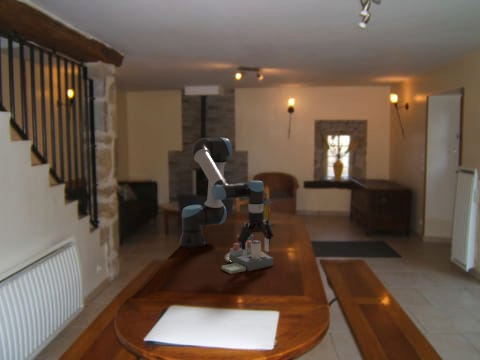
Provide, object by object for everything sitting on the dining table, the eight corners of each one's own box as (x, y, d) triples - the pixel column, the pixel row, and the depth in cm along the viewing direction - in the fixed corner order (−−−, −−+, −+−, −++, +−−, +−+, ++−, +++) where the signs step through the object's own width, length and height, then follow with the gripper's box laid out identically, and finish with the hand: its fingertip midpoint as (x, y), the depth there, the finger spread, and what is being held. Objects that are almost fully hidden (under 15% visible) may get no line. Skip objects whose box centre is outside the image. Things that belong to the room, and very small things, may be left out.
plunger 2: (244, 249, 219) (244, 241, 218) (249, 248, 220) (249, 240, 220) (248, 250, 216) (248, 242, 216) (252, 249, 218) (252, 241, 217)
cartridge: (249, 265, 209) (249, 241, 208) (257, 263, 212) (257, 239, 210) (254, 267, 205) (254, 243, 204) (262, 266, 208) (262, 241, 206)
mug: (251, 257, 222) (251, 238, 221) (234, 256, 224) (234, 237, 223) (256, 251, 234) (256, 232, 233) (240, 250, 236) (240, 231, 235)
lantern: (274, 224, 300) (274, 183, 297) (265, 228, 289) (265, 185, 285) (257, 222, 308) (257, 182, 304) (247, 225, 296) (247, 184, 293)
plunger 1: (232, 251, 214) (232, 243, 214) (237, 250, 216) (237, 242, 215) (235, 253, 212) (235, 244, 211) (240, 252, 213) (240, 243, 213)
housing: (229, 261, 215) (229, 248, 215) (252, 256, 224) (252, 243, 223) (248, 270, 201) (248, 256, 200) (273, 265, 209) (273, 251, 208)
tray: (221, 269, 203) (221, 265, 203) (236, 265, 208) (236, 262, 208) (230, 274, 196) (230, 270, 196) (245, 270, 201) (245, 267, 201)
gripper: (239, 215, 195) (239, 259, 198) (280, 210, 209) (279, 250, 211) (230, 213, 201) (231, 255, 204) (271, 208, 215) (270, 247, 218)
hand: (256, 253), depth 208 cm, fingers open, 13 cm apart
